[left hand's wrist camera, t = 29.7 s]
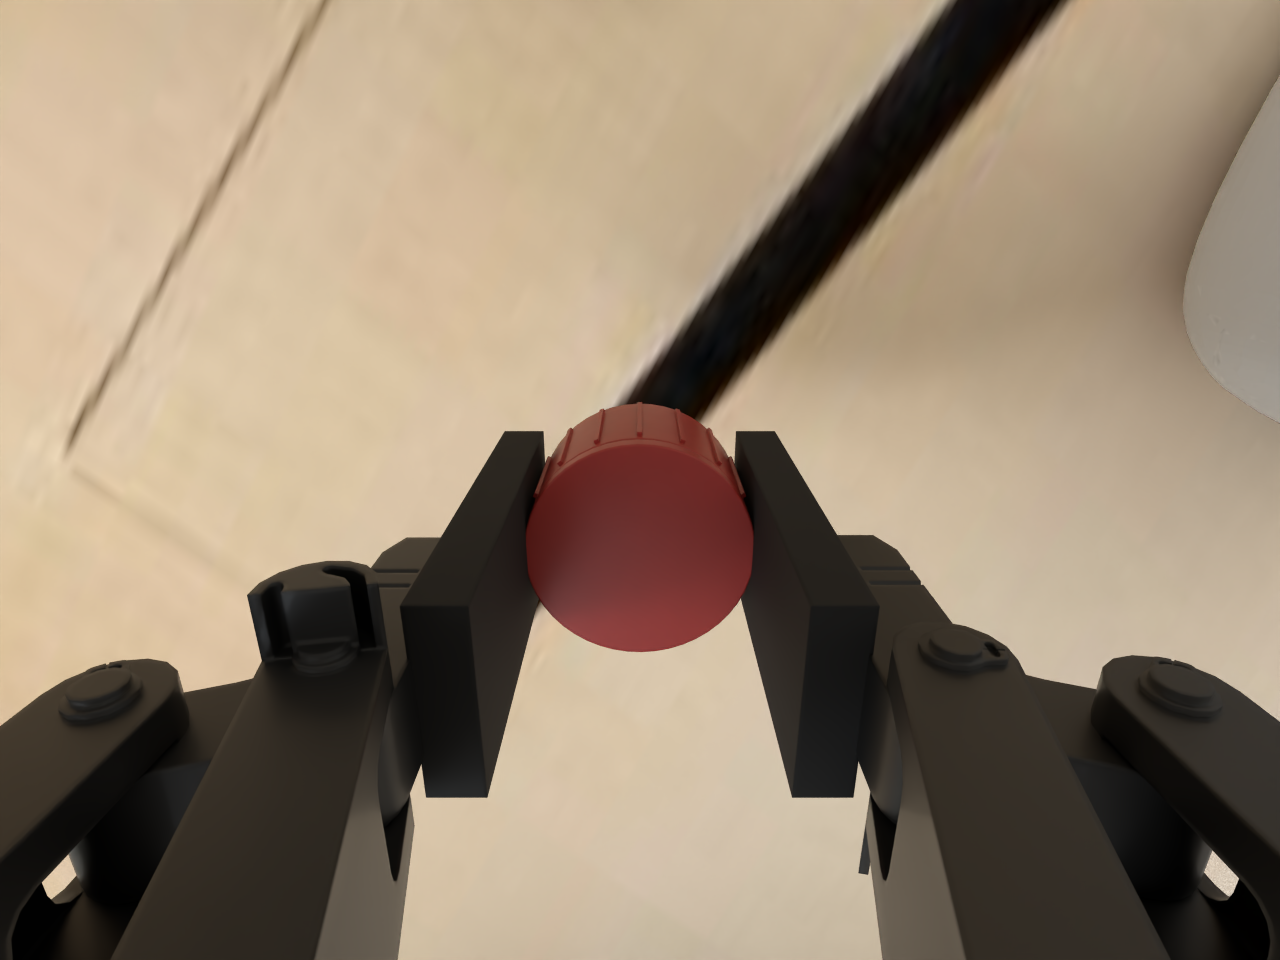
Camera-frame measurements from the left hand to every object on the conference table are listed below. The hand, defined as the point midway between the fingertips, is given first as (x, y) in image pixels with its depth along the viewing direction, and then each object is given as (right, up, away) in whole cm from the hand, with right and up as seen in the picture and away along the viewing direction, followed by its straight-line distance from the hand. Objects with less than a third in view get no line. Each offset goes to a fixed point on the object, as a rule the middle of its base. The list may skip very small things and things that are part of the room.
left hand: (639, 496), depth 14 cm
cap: (0, -1, -2) cm, 2 cm away
